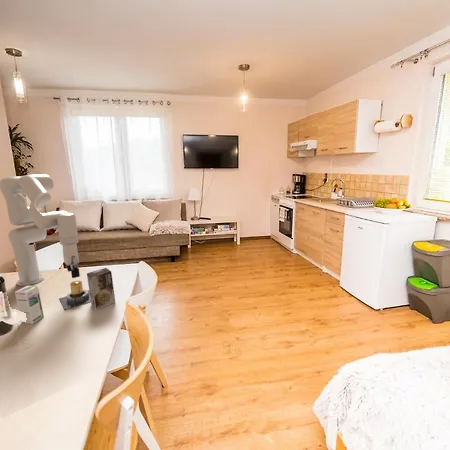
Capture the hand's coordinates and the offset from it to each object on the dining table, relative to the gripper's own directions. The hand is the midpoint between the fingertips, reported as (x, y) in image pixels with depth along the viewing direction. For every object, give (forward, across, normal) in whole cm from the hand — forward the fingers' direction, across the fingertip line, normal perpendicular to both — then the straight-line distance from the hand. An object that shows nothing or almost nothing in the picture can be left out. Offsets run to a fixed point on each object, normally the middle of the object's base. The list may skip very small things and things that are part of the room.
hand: (73, 273), depth 129 cm
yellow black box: (+13, +1, 0) cm, 13 cm away
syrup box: (+13, +8, -19) cm, 24 cm away
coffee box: (+13, +14, +8) cm, 21 cm away
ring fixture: (+13, +1, 0) cm, 13 cm away
